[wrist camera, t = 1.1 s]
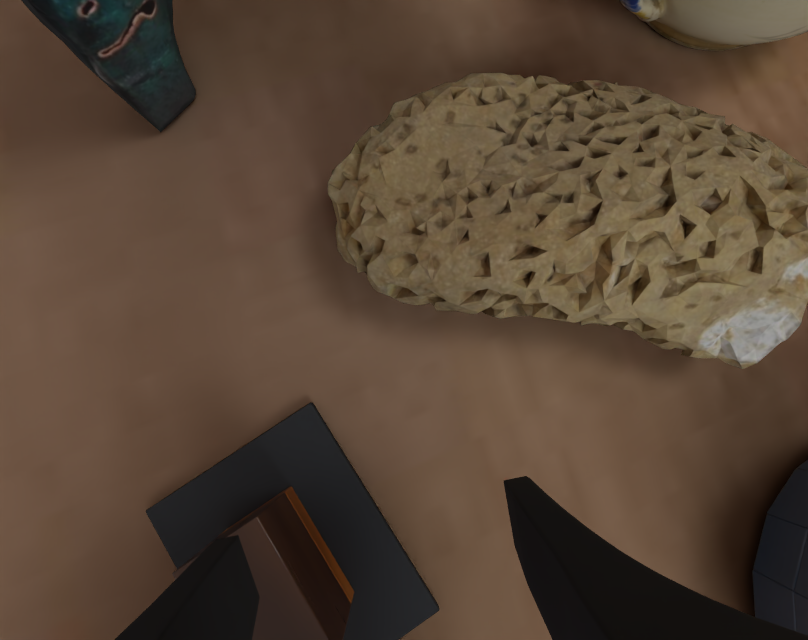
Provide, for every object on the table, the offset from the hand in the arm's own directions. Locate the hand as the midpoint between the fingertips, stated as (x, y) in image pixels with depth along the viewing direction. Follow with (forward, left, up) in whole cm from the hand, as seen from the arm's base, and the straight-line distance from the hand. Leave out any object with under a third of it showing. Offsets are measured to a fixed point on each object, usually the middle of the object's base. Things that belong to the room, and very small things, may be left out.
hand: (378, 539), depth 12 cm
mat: (-6, -1, -10) cm, 11 cm away
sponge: (+13, +5, -10) cm, 17 cm away
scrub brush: (-6, -1, -9) cm, 11 cm away
